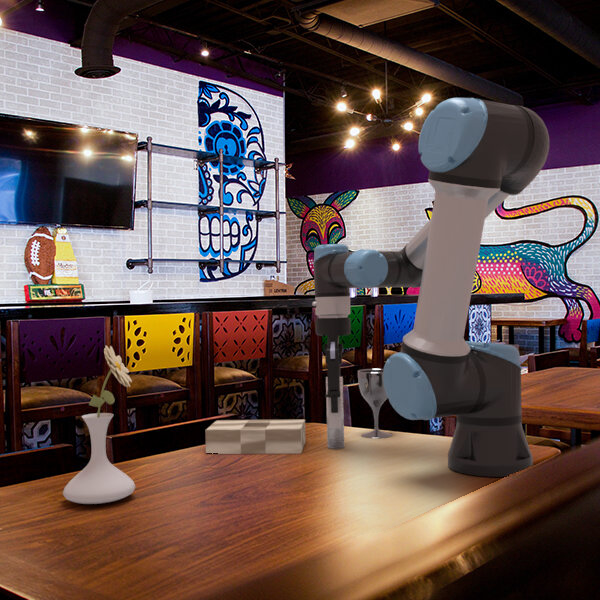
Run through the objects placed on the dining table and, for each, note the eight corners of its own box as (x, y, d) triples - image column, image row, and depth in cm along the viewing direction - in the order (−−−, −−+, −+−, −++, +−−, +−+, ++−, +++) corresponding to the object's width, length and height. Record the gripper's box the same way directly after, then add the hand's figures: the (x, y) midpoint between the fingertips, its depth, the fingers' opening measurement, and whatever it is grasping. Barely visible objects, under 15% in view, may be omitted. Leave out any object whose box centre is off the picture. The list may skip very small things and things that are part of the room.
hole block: (301, 453, 147) (300, 429, 147) (205, 454, 149) (205, 430, 149) (305, 441, 159) (304, 419, 159) (217, 442, 161) (216, 420, 161)
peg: (344, 448, 150) (342, 378, 150) (327, 448, 151) (325, 378, 151) (344, 445, 154) (342, 376, 154) (327, 445, 154) (326, 376, 154)
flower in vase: (108, 512, 108) (104, 349, 108) (47, 507, 112) (43, 349, 112) (154, 490, 121) (150, 343, 121) (98, 486, 125) (94, 343, 125)
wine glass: (353, 437, 163) (352, 371, 163) (367, 431, 170) (365, 368, 170) (386, 439, 159) (384, 372, 159) (398, 433, 166) (397, 369, 166)
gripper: (317, 316, 161) (320, 419, 161) (312, 318, 144) (315, 433, 144) (350, 315, 160) (353, 419, 160) (349, 317, 144) (352, 433, 144)
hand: (335, 425), depth 152 cm, fingers closed on peg, 3 cm apart
